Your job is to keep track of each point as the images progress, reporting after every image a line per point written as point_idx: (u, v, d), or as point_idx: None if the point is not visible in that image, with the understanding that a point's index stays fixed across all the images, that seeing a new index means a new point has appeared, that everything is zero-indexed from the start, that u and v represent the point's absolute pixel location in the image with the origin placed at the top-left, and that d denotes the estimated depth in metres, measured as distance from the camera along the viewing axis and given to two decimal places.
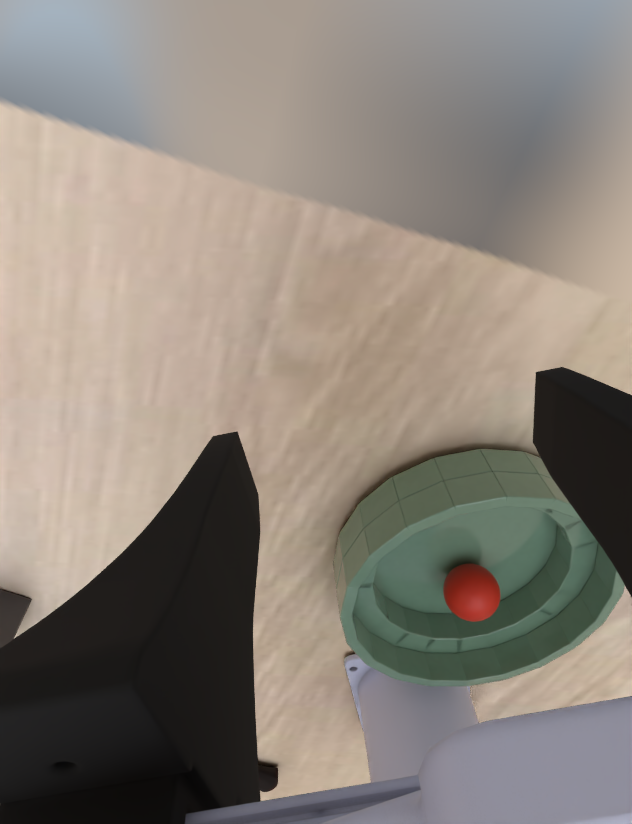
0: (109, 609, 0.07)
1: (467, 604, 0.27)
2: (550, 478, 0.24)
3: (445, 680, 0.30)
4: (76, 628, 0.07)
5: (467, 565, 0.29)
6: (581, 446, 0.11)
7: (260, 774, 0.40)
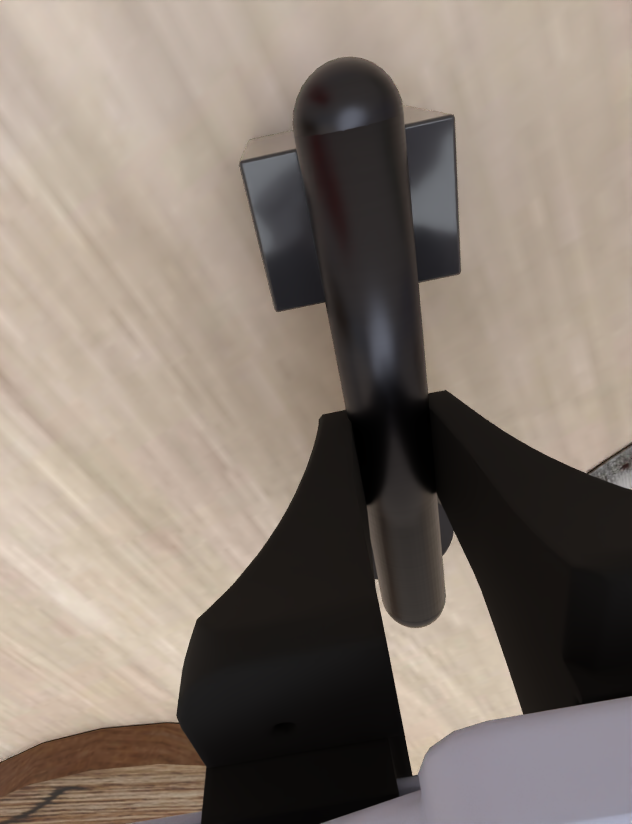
0: (305, 573, 0.07)
1: None
2: None
3: None
4: (281, 590, 0.06)
5: None
6: (450, 471, 0.11)
7: None
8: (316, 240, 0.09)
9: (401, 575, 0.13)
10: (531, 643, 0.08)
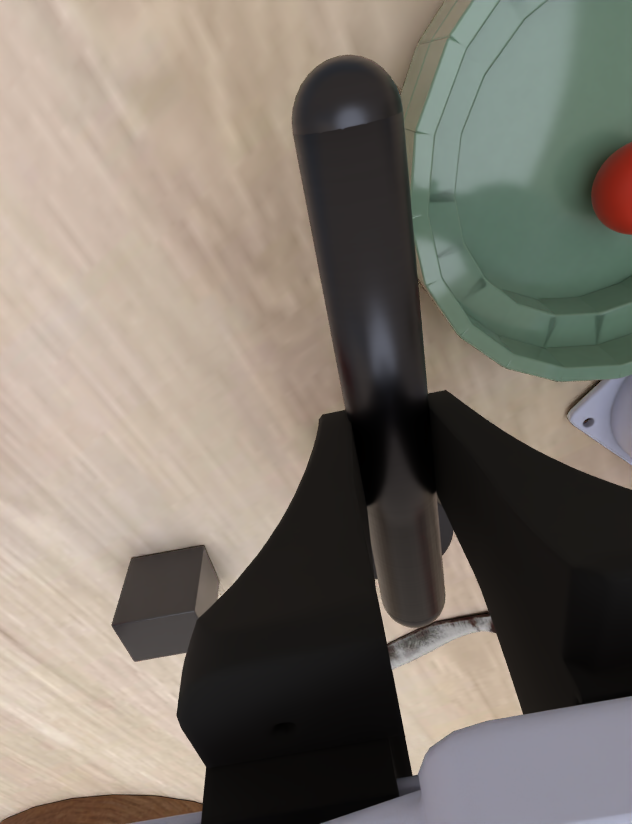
0: (305, 573, 0.07)
1: None
2: None
3: None
4: (281, 590, 0.06)
5: (607, 159, 0.18)
6: (450, 471, 0.11)
7: None
8: (315, 239, 0.09)
9: (401, 575, 0.13)
10: (531, 643, 0.08)
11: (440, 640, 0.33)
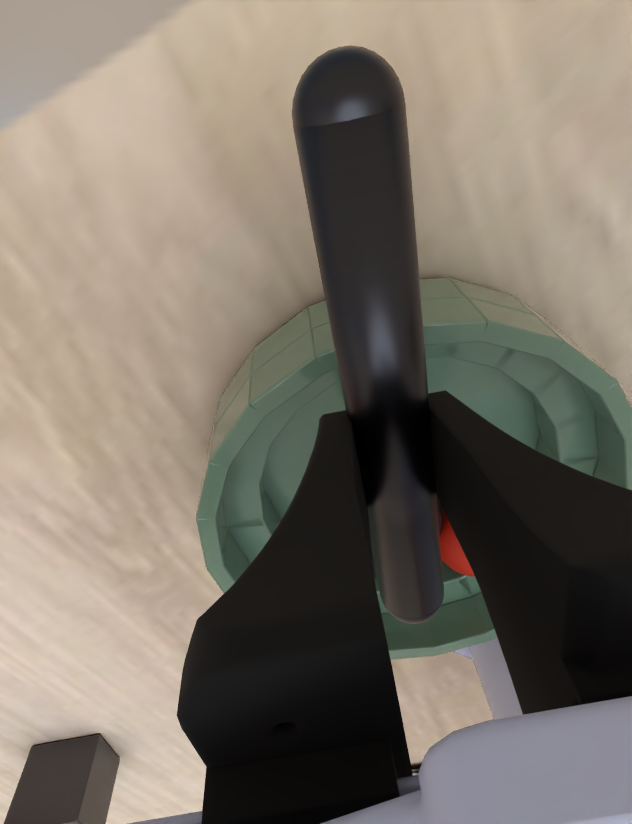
0: (305, 573, 0.07)
1: None
2: None
3: None
4: (281, 590, 0.06)
5: None
6: (450, 471, 0.11)
7: None
8: (317, 234, 0.09)
9: (402, 572, 0.13)
10: (530, 643, 0.08)
11: None
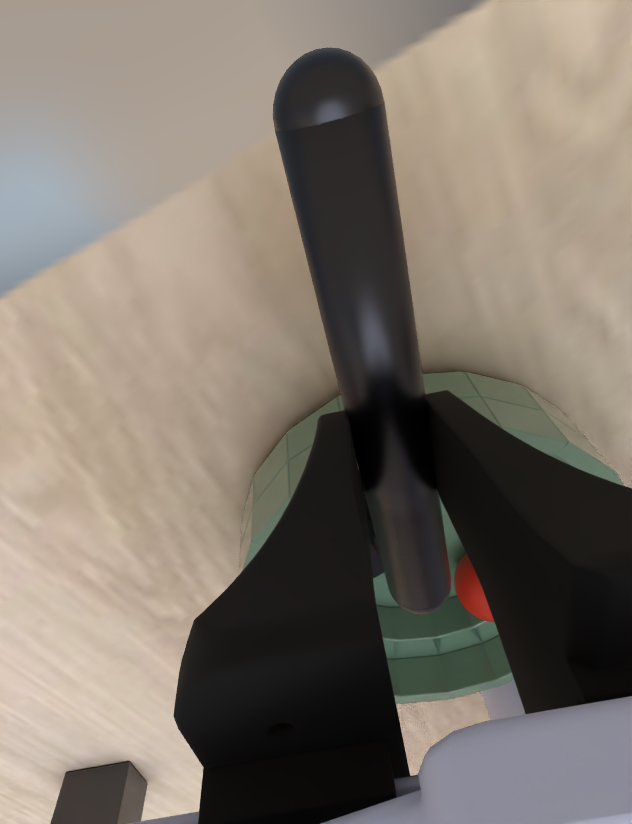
0: (302, 573, 0.07)
1: None
2: None
3: None
4: (279, 591, 0.06)
5: None
6: (452, 471, 0.11)
7: None
8: (311, 236, 0.09)
9: (416, 563, 0.13)
10: (533, 643, 0.08)
11: None
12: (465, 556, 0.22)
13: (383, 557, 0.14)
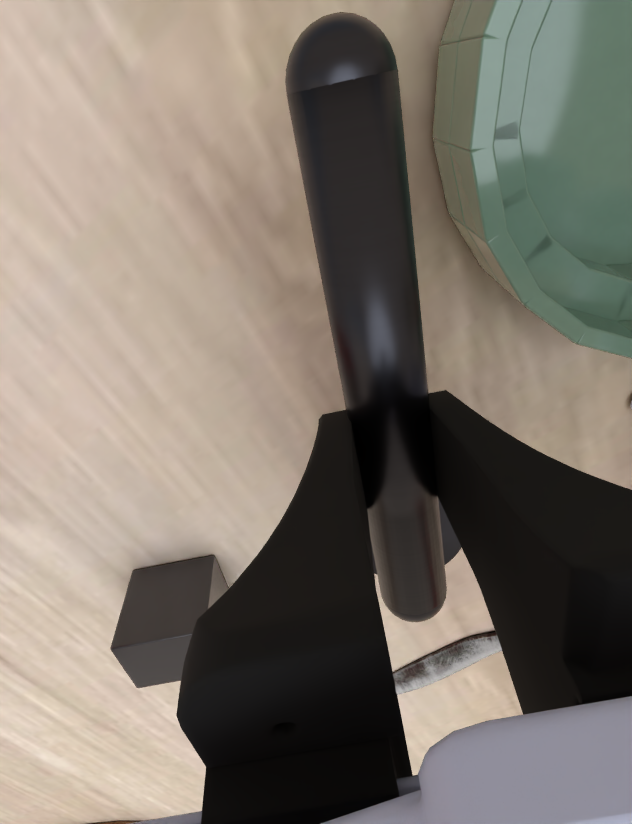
0: (305, 573, 0.07)
1: None
2: None
3: None
4: (281, 590, 0.06)
5: None
6: (450, 471, 0.11)
7: None
8: (308, 203, 0.09)
9: (397, 563, 0.13)
10: (531, 643, 0.08)
11: (475, 656, 0.30)
12: None
13: (372, 548, 0.14)
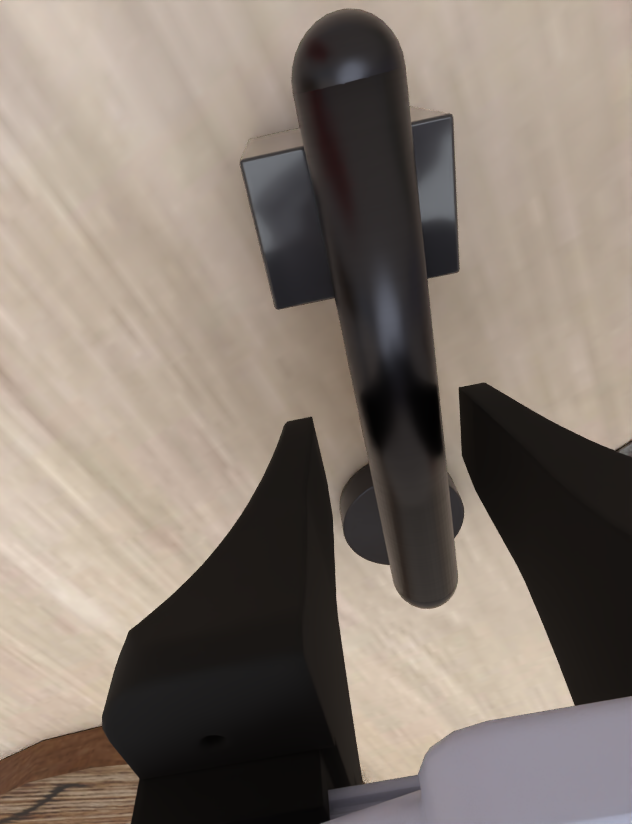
0: (241, 585, 0.07)
1: None
2: None
3: None
4: (214, 603, 0.07)
5: None
6: (494, 463, 0.11)
7: None
8: (318, 204, 0.09)
9: (412, 553, 0.13)
10: (592, 632, 0.08)
11: None
12: None
13: (385, 540, 0.14)
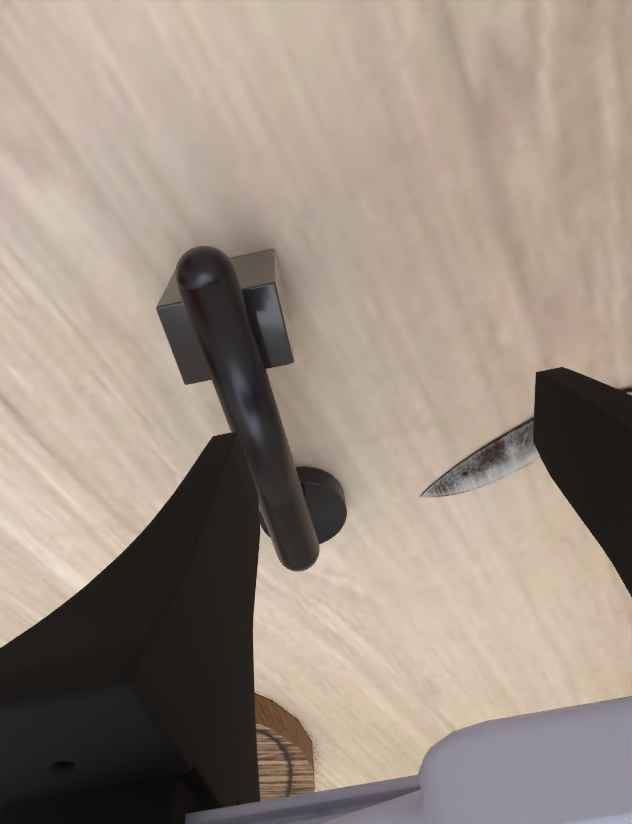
0: (109, 609, 0.07)
1: None
2: None
3: None
4: (76, 628, 0.07)
5: None
6: (581, 446, 0.11)
7: None
8: None
9: (280, 533, 0.20)
10: None
11: None
12: None
13: None
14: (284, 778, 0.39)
